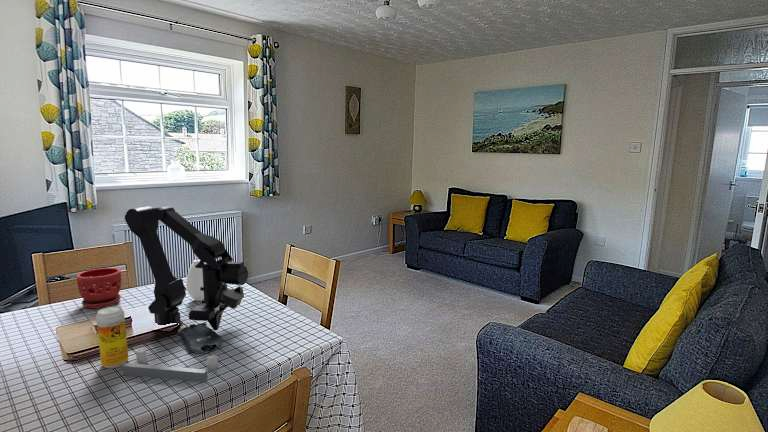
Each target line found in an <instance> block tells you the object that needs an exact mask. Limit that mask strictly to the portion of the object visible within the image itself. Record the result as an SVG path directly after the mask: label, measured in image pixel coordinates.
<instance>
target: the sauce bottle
mask: <svg viewBox="0 0 768 432" xmlns="http://www.w3.org/2000/svg"><path fill="white" fill-rule="evenodd" d="M199 262H200V259H199V258H198V257H197V256H196V255H195V260H193V261H192V263H191V265H190V267H189V269H188V272H187V274H186V275H187V276H186V281H185V282H186V289H187V290H186V292H187V293H188V295H189V296H190V298H191V299H193V300H194V301H198V302H201V300H202V299H204V291H200V287H202V286H203V275H202V268H195V266H196V265H197V264H198V263H199Z"/></svg>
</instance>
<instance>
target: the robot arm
mask: <svg viewBox="0 0 768 432" xmlns="http://www.w3.org/2000/svg"><path fill="white" fill-rule="evenodd" d="M124 221H125V223H126V224H127V226H128V228H129V230H130V231H131V232H132V233H133V234H134V235H135V236H137V238H138V239H139V240H140V243H141V246H142V248H143V251H144V254H145V258H146V259H147V262H148V264H149V267H150V270H151V272H152V276H153V277H154V280H155V281H154V282H155V284H154V289H153V295H154V298H155V299H154V300H153V301H152V302H151V303H150V304H149V305H148V307H147V308H148V311H149V313H150V314H153V316H154V324H155V323H157V324H158V325H166V324H170V323H179V325H180V326H181V325H182V324H184V323H183V321H181V313H180V312H181V311H180V310H179V306H181V305H183V301H184V299H185V297H186V296H187V287H186V286H185V284H184V281H183V279H182V278H177V277H175V276H174V275H173V273H172V269H171V267H170V265H169V262H168V258H167V256H166V254H165V251H164V247H163V246H162V243H161V240H160V237H159V234H158V228H159V224H160V223H159V222H161V223H163V224H164V225H165V226H166V227H168V228H169V229H170V230H171V231H172V232H174V233H175V234H176V235H178V237H180V238H181V239H182V240H183V241H185V242H186V243H187V244H188V246H190V247H191V249H192V253H193V254H194V255H195V257H196V256H197V258H198V260H200V262H199V263H198V264H197V265H196V266H195V268H202V275H203V286H202V287H200V291H204V299H202V300H201V301H200V302H201V303H200V304H203V305H197V306H195V307H193V309H190V311H189V312H188V320H189V321H199V322H200V321H203V322H208V323H209V325H210V328H211V329H212V330H213V331H218V330H219V327H220V324H221V320H222V318H223V317H222V316H223V313H224V311H225V310H227V309H228V307H229V308H231V309H236V308H238V306H240V305H241V302H242V300H243V298H245V294H244V287H241V286H244V285H245V284H246V282H247V281H248V278H249V270H248V268H247V266H245V263H244V262H243V261H234V258H233V257H232V256H231V254H230V253H229V252H228V250H227V249H226V248H225V244H224V242H223V241H221V240H219V239H217V238H216V237H214V236H212V235H209V234H205V233H203V232H202V231H200V230H199V229H198V228H197V227H196V226H194V224H192V223H191V222H189V221H188V220H187V219H186V218H184V216H182V215H181V214H179V212H177V211H176V210H175V209H174V207H173V206H170V205H165V206H162V207H152V206H150V205H145V206H139V207H134V208H130V209H128V210H127V211H126V213H125V215H124ZM220 258H221V259H220ZM228 285H237V287H236V288H228ZM204 304H205V305H204ZM179 311H180V312H179Z"/></svg>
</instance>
